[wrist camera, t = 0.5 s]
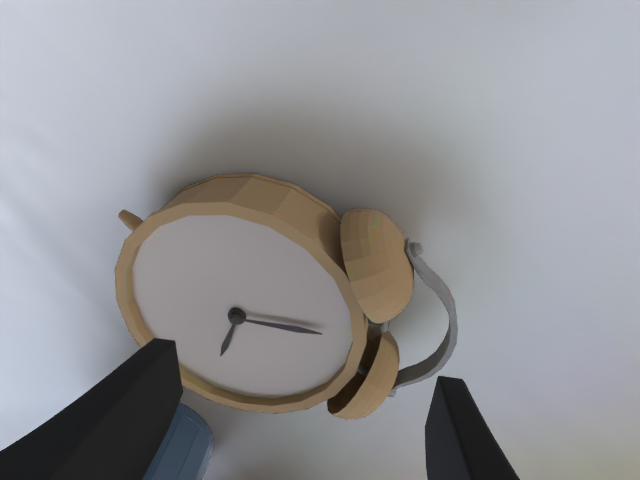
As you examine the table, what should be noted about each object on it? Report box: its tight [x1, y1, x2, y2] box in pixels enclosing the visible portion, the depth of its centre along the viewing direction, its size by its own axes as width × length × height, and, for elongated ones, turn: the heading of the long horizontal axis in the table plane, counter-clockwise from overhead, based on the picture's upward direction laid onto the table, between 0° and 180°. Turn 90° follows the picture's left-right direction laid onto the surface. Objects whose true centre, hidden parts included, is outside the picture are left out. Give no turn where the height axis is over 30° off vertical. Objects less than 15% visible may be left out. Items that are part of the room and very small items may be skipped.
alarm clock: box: [115, 173, 458, 419], centre depth 20 cm, size 11×5×15 cm
